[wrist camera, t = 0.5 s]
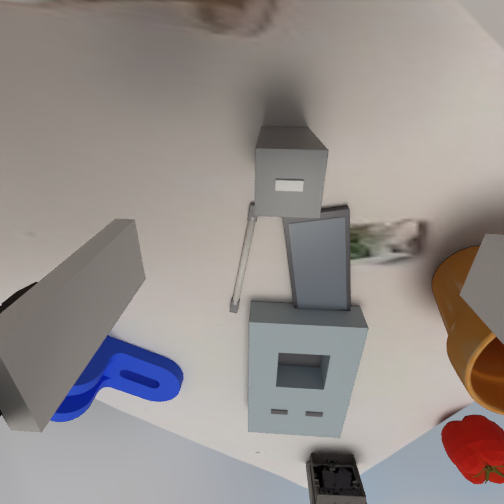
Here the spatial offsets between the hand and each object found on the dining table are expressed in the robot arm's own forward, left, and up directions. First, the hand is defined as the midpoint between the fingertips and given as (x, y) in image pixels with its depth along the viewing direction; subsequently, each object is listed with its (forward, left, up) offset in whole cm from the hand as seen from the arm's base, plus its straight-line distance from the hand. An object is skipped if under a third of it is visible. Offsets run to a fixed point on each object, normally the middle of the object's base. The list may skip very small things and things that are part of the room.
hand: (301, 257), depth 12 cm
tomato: (+32, -42, -21) cm, 57 cm away
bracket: (-22, -32, -22) cm, 44 cm away
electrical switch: (+12, -54, -21) cm, 59 cm away
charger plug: (0, 0, -21) cm, 21 cm away
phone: (+5, -13, -21) cm, 25 cm away
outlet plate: (+4, -30, -21) cm, 37 cm away
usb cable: (-4, -13, -21) cm, 25 cm away
